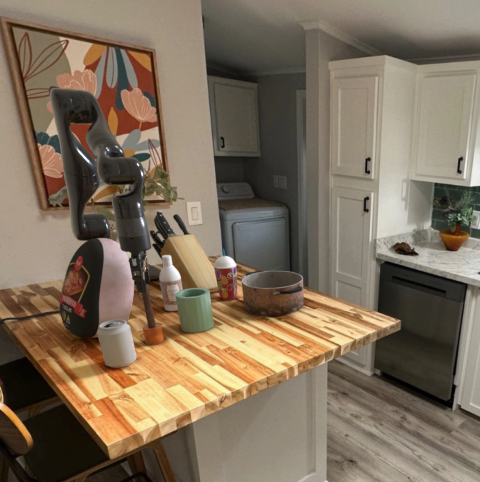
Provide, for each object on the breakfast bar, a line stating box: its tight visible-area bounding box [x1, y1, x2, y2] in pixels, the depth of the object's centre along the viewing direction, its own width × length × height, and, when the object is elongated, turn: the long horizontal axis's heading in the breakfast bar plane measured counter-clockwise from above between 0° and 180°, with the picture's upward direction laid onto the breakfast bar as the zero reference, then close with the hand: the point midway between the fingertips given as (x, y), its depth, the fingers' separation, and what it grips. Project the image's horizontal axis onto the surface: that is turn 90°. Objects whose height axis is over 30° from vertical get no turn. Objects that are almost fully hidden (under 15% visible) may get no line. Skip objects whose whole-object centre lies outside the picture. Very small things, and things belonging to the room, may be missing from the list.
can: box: [97, 320, 137, 369], centre depth 111 cm, size 8×8×12 cm
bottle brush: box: [140, 284, 165, 346], centre depth 123 cm, size 5×5×18 cm
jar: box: [175, 288, 215, 333], centre depth 135 cm, size 10×10×12 cm
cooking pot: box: [241, 270, 305, 317], centre depth 156 cm, size 30×22×11 cm
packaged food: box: [59, 238, 135, 339], centre depth 126 cm, size 22×20×30 cm
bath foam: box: [158, 255, 183, 312], centre depth 148 cm, size 7×7×20 cm
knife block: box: [149, 210, 219, 293], centre depth 170 cm, size 11×35×31 cm, turn 54°
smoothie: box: [213, 248, 239, 301], centre depth 160 cm, size 8×8×20 cm
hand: (144, 287), depth 120 cm, fingers open, 8 cm apart
